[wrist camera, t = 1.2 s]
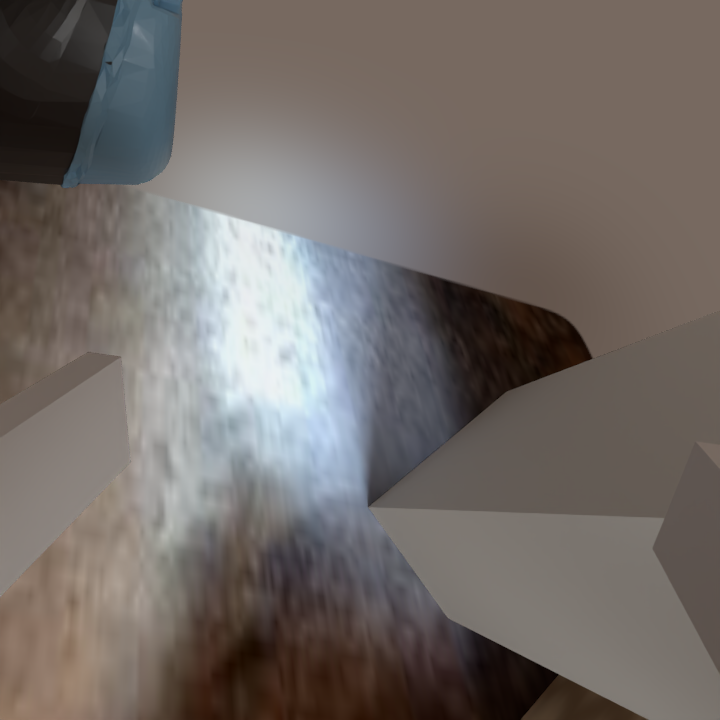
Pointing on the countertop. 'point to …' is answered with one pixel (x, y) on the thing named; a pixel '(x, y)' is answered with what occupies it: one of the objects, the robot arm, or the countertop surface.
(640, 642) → the step block
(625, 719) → the oak block
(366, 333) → the countertop surface
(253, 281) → the countertop surface
